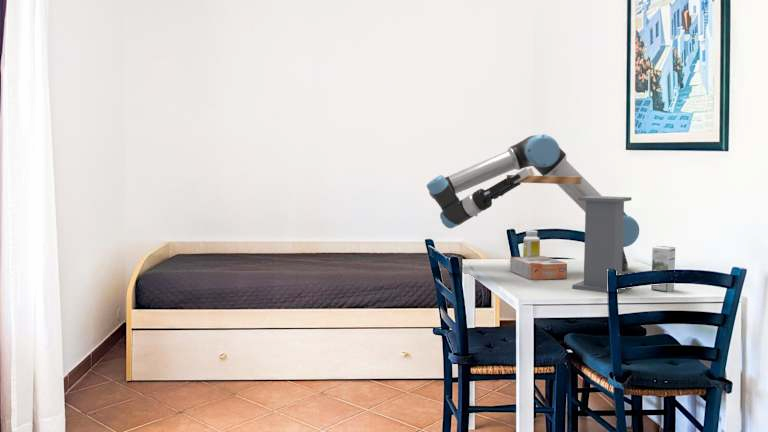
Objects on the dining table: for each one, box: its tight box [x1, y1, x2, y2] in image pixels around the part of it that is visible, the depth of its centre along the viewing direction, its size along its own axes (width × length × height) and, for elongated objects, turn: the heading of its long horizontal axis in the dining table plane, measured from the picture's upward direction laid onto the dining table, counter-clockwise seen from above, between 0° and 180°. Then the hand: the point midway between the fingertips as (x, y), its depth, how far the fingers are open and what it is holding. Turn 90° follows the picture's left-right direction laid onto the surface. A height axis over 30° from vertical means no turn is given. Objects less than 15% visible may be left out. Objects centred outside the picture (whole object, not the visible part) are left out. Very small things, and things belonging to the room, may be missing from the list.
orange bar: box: [506, 174, 581, 185], centre depth 273 cm, size 26×4×2 cm, turn 57°
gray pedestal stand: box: [571, 195, 632, 294], centre depth 263 cm, size 16×14×30 cm
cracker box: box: [509, 255, 568, 281], centre depth 291 cm, size 14×6×21 cm
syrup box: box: [650, 245, 676, 293], centre depth 261 cm, size 6×6×14 cm
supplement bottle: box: [522, 229, 541, 257], centre depth 328 cm, size 7×7×13 cm
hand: (530, 171), depth 276 cm, fingers closed on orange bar, 3 cm apart
